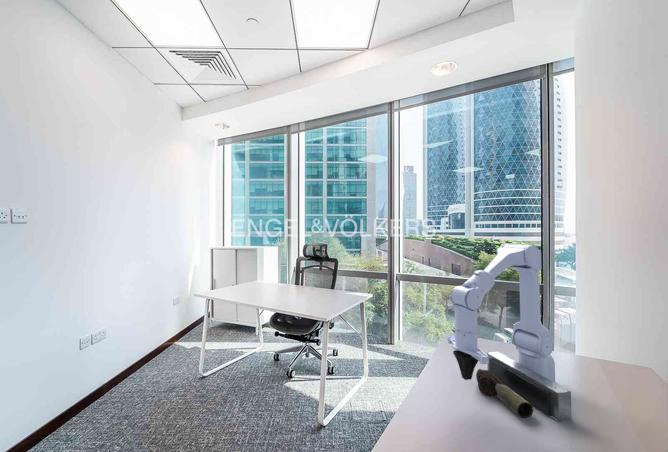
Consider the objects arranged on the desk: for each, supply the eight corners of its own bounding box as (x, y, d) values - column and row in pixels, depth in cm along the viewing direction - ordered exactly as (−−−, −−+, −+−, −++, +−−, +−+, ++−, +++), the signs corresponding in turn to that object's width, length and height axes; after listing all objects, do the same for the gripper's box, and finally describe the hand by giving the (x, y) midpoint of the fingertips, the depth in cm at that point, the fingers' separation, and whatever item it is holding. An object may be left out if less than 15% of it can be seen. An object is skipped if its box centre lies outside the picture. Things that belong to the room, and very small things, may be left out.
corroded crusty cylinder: (534, 418, 72) (533, 396, 72) (510, 421, 71) (510, 399, 71) (487, 381, 89) (486, 363, 89) (467, 383, 88) (467, 365, 88)
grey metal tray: (497, 372, 94) (497, 351, 95) (571, 418, 71) (570, 391, 71) (485, 374, 93) (484, 353, 94) (555, 422, 70) (555, 393, 70)
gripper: (438, 322, 85) (439, 367, 85) (471, 340, 71) (472, 394, 71) (458, 320, 86) (459, 365, 86) (495, 338, 72) (496, 391, 72)
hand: (466, 378), depth 78 cm, fingers closed
